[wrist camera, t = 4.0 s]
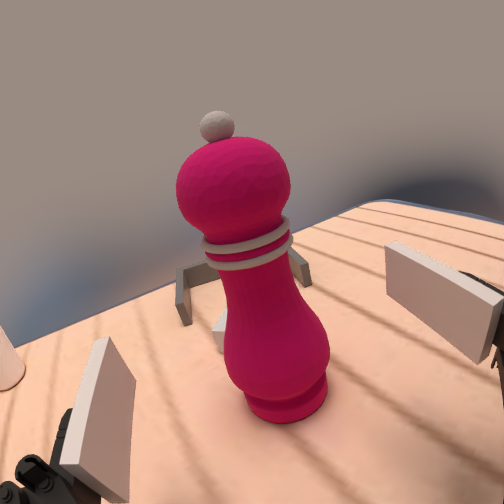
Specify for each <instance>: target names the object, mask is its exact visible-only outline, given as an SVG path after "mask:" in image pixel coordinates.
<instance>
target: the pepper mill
mask: <svg viewBox="0 0 504 504" xmlns="http://www.w3.org/2000/svg"><path fill="white" fill-rule="evenodd" d="M200 131H201V134H202V136H203V138H204V139H205V140H206V141H208V142H209V144H207V145H205V146H203V147H201V148H200V149H198V150H196V151H195V152H194V153H193V154H191V155H190V156H189V157H188V158H187V160H186V161H185V162H184V164H183V165H182V167H181V169H180V171H179V173H178V176H177V183H176V196H177V201H178V205H179V208H180V210H181V213H182V214H183V216H184V218H185V219H186V220H187V221H188V222H189V223H190V224H191V225H193V226H194V227H196V228H197V229H199V230H200V231H202V232H203V233H204V237H203V238H202V240H201V247H202V249H203V250H204V251H205V254H206V259H205V260H206V262H207V264H208V265H209V266H210V267H212V268H214V269H217V271H218V273H219V275H220V278H221V280H222V282H223V286H224V290H225V294H226V298H227V320H226V328H225V335H224V360H225V364H226V368H227V371H228V374H229V377H230V378H231V380H232V381H233V383H234V384H235V385H236V386H237V387H238V388H239V389H240V390H242V391H244V394H245V397H246V399H247V401H248V404H249V406H250V408H251V409H252V411H253V412H254V413H255V414H256V415H257V416H259V417H260V418H262V419H264V420H267V421H270V422H273V423H289V422H294V421H298V420H300V419H303V418H305V417H307V416H309V415H310V414H312V413H313V412H314V411H316V410H317V409H318V408H319V407H320V405H321V404H322V403H323V401H324V399H325V397H326V394H327V379H326V372H325V370H326V367H327V365H328V362H329V358H330V346H329V342H328V338H327V334H326V331H325V329H324V327H323V325H322V323H321V322H320V320H319V318H318V317H317V315H316V314H315V313H314V312H313V311H312V309H311V308H310V307H309V306H308V304H307V303H306V302H305V300H304V299H303V298H302V296H301V294H300V292H299V290H298V288H297V286H296V284H295V281H294V278H293V275H292V271H291V268H290V264H289V257H288V249H289V248H290V247H291V245H292V243H293V236H292V234H291V233H290V230H289V227H290V222H289V220H288V218H287V217H285V216H283V215H281V212H282V209H283V208H284V206H285V204H286V202H287V200H288V198H289V195H290V188H291V184H290V177H289V173H288V170H287V167H286V165H285V162H284V160H283V159H282V157H281V156H280V154H279V153H278V152H277V151H276V150H275V149H274V148H273V147H272V146H270V145H269V144H267V143H265V142H263V141H261V140H258V139H254V138H250V137H231V136H232V135H233V133H234V121H233V119H232V118H231V117H230V116H229V115H228V114H227V113H225V112H222V111H213V112H210V113H209V114H207V115H206V116H205V117H204V118H203V119H202V121H201V124H200Z"/></svg>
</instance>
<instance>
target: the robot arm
mask: <svg viewBox="0 0 504 504" xmlns="http://www.w3.org/2000/svg"><path fill="white" fill-rule="evenodd" d="M385 262H386V289H387V295H388V296H390V297H391V298H392V299H394V300H395V301H396V302H398V303H399V304H400V305H402V306H403V307H404V308H406V309H407V310H408V311H410V312H411V313H412V314H414V315H415V316H416V317H417V318H419V319H420V320H421V321H423V322H424V323H425V324H427V325H428V326H429V327H430V328H432V329H433V330H434V331H436V332H437V333H438V334H439V335H441V336H442V337H443V338H444V339H446V340H447V341H448V342H449V343H451V344H452V345H453V346H454V347H456V348H457V349H458V350H459V351H461V352H462V353H463V354H464V355H466V356H467V357H468V358H469V359H470V360H472V361H473V362H474V363H475V364H476V365H478V364H480V363H481V362H482V361H483V360H484V359H485V358H487V357H488V356H489V353H490V350H491V347H492V344H494V345H495V346H497V349H496V352H495V355H494V358H493V361H492V364H491V369H492V368H494V365H495V362H496V361H497V364H498V365H497V367H496V368H498V370H499V376H500V382H501V389H502V397H503V406H504V292H503V291H501V290H499V289H497V288H496V287H494V286H492V285H490V284H488V283H486V282H485V281H483V280H481V279H480V280H479V278H477V277H475V276H474V275H472V274H470V273H466V272H462V271H457V270H455V269H453V268H451V267H449V266H447V265H445V264H443V263H441V262H439V261H437V260H435V259H433V258H431V257H429V256H427V255H425V254H423V253H421V252H419V251H417V250H415V249H413V248H411V247H409V246H407V245H405V244H402V243H400V242H398V241H394V242H392V243H389V244H386V245H385ZM135 389H136V380H135V378H134V376H133V375H132V373H131V372H130V370H129V369H128V367H127V365H126V364H125V362H124V360H123V359H122V357H121V355H120V354H119V352H118V350H117V349H116V347H115V345H114V343H113V342H112V340H111V338H110V336H109V337H105V338H101V339H98V340H95V342H94V345H93V348H92V350H91V353H90V356H89V359H88V362H87V365H86V368H85V371H84V374H83V377H82V380H81V383H80V386H79V389H78V393H77V396H76V399H75V403H74V406H73V408H70V409H68V410H67V411H66V412H65V414H64V415H63V417H62V418H61V422H60V425H59V431H58V432H57V436H56V438H57V439H56V440H55V444H54V447H53V451H52V456H51V460H50V464H49V465H48V464H47V463H46V462H44V461H43V460H42V459H41V458H40V457H39V456H37V455H34V454H31V455H27V456H25V457H23V458H22V459H21V460H20V461H19V462H18V464H17V466H16V470H15V478H16V480H17V481H18V482H20V483H21V484H22V485H24V486H25V487H24V488H20V487H19V486H17V485H16V484H15V483H13V482H11V481H5V482H3V483H2V484H1V485H0V504H101V497H102V498H104V499H105V500H107V501H108V502H110V503H129V481H130V451H131V434H132V420H133V409H134V398H135ZM503 504H504V500H503Z"/></svg>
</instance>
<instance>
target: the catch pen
mask: <svg viewBox="0 0 504 504" xmlns="http://www.w3.org/2000/svg"><path fill="white" fill-rule="evenodd" d="M288 257H289V264H290V268H291V271H292V274H293V275H294V276H295V277H296V278H297V279H298V281H299V282H300V283H301V284H302V285H303V286H304V287H307V286H310V285H312V282H311V276H310V270H309V265H308V262H307V261H306V260H305V259H304V258H303V257H301V256H300V255H299V254H298V253H297V252H296V251H295V250H294V249H293V248H292V247H290V248H289V249H288ZM217 279H220V275H219V273H218V271H217V269H214V268H212V267H210V266H209V265H208V264H207V262H206V260H205V261H202V262H198V263H196V264H192V265H189V266H186V267H182V268H179V269H177V275H176V299H175V306H176V308H177V310H178V313H179V315H180V317H181V320H182V322H183V324H184V326H187V325H190V324H192V314H191V299H190V288H191V287H194V286H197V285H201V284H204V283H207V282H210V281H213V280H217Z"/></svg>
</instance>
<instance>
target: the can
mask: <svg viewBox="0 0 504 504" xmlns="http://www.w3.org/2000/svg"><path fill="white" fill-rule="evenodd" d="M24 373H25V365H24V363H23V362H22V360H21V359H20V357H19V355H18V354H17V352H16V351H15V349H14V348H13V346H12V344H11V343H10V341H9V339H8V338H7V336H6V334H5V333H4V331H3V329H2V328H1V326H0V390H1V391H6V390H9V389H11V388H12V387H14V386H15V385H16V384H18V383H19V381H20V380H21V379H22V378H23V376H24Z"/></svg>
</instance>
